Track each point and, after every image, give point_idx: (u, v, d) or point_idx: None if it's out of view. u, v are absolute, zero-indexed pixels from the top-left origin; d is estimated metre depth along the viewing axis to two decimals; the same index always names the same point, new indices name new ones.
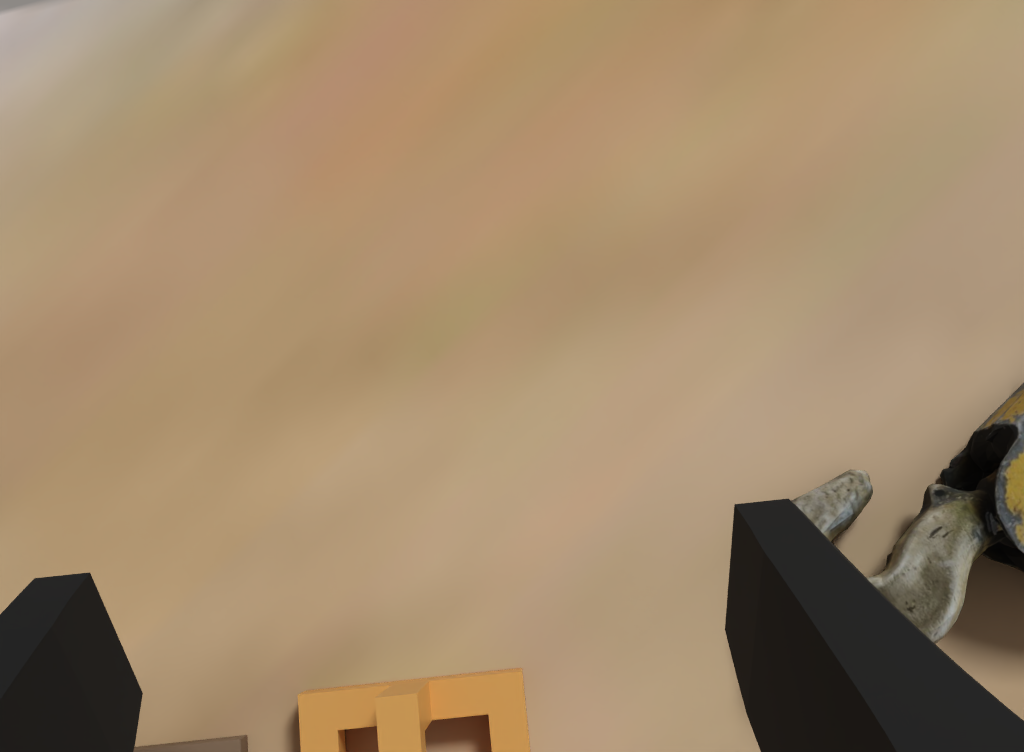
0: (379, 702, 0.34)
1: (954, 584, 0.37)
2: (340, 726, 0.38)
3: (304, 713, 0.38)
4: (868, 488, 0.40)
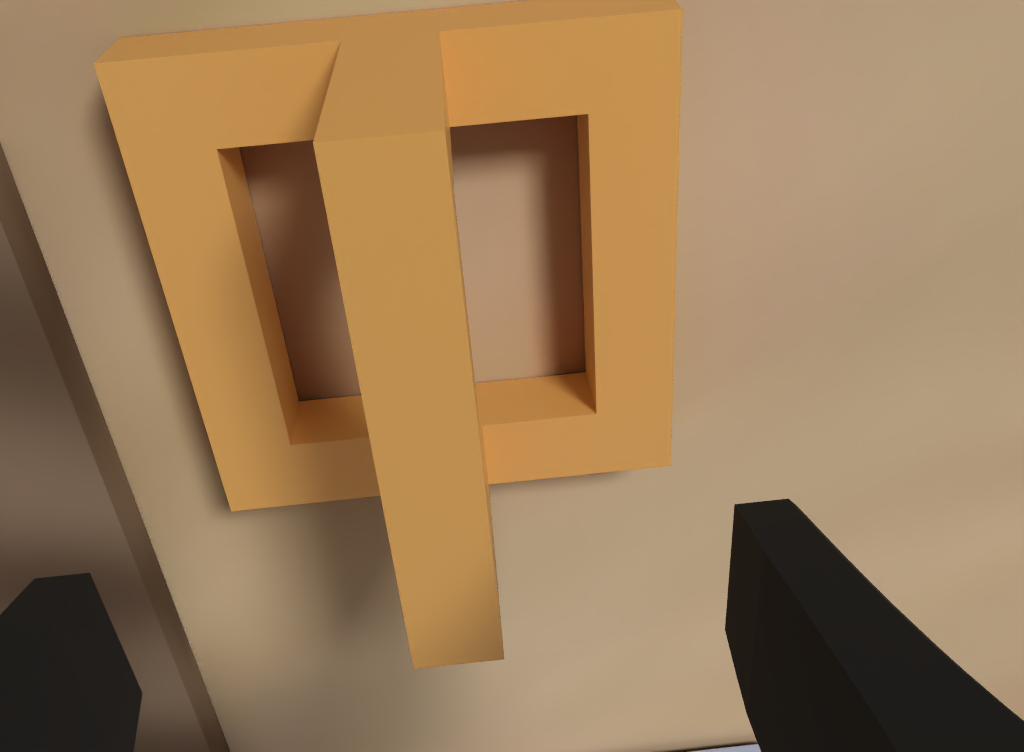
0: (328, 156, 0.11)
1: None
2: (222, 141, 0.15)
3: (122, 109, 0.15)
4: None
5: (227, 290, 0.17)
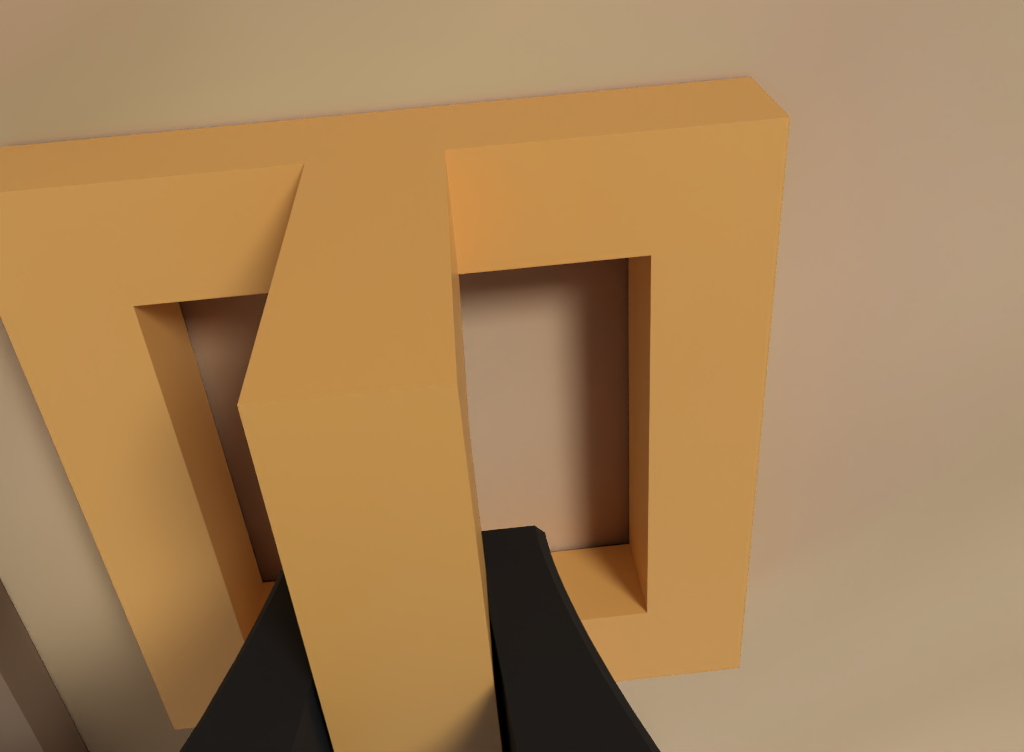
0: (264, 426, 0.07)
1: None
2: (140, 296, 0.11)
3: None
4: None
5: (157, 480, 0.12)
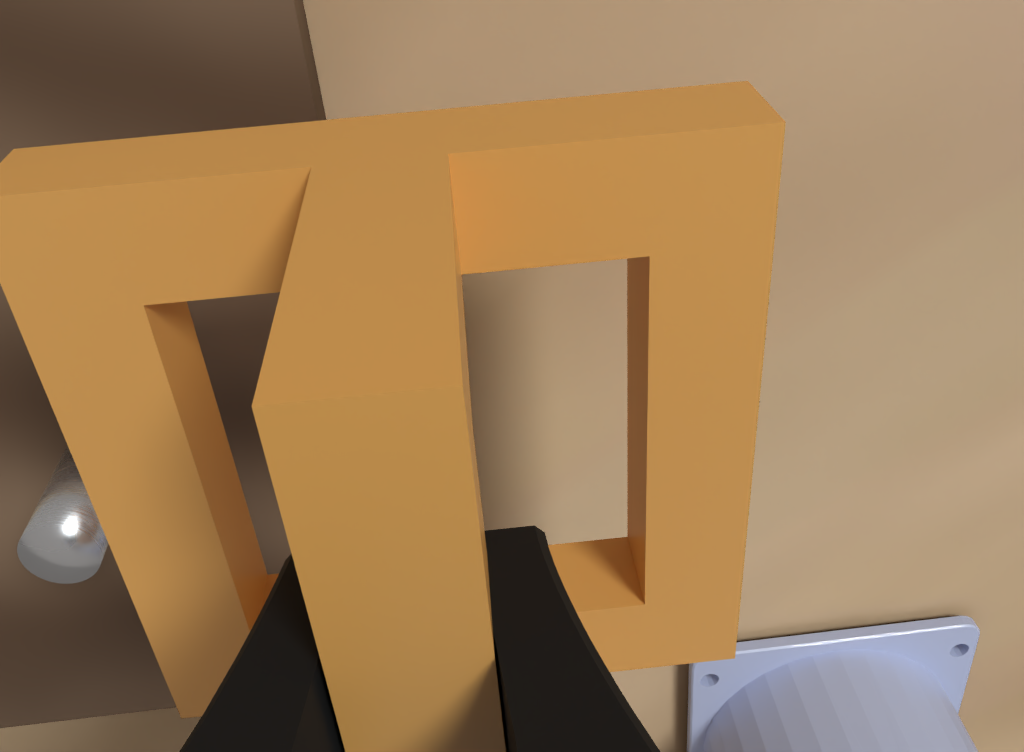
0: (277, 426, 0.07)
1: None
2: (150, 296, 0.11)
3: (10, 257, 0.11)
4: None
5: (166, 475, 0.13)
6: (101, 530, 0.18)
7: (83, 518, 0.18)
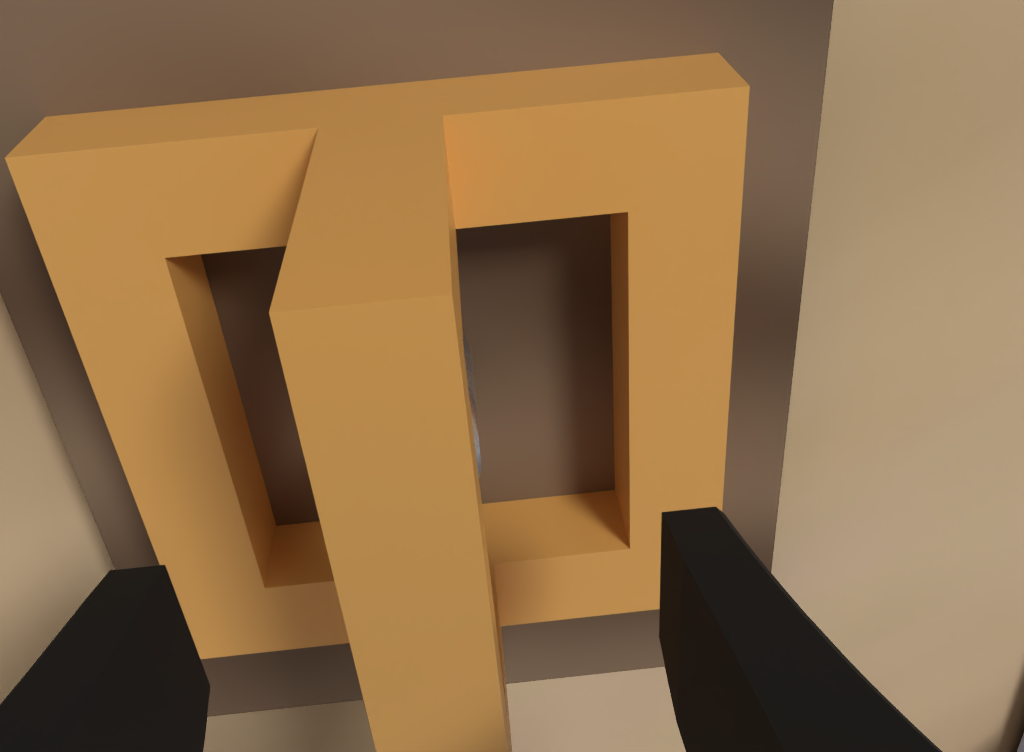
0: (291, 330, 0.08)
1: None
2: (171, 248, 0.12)
3: (44, 212, 0.12)
4: None
5: (183, 420, 0.14)
6: (477, 436, 0.13)
7: None
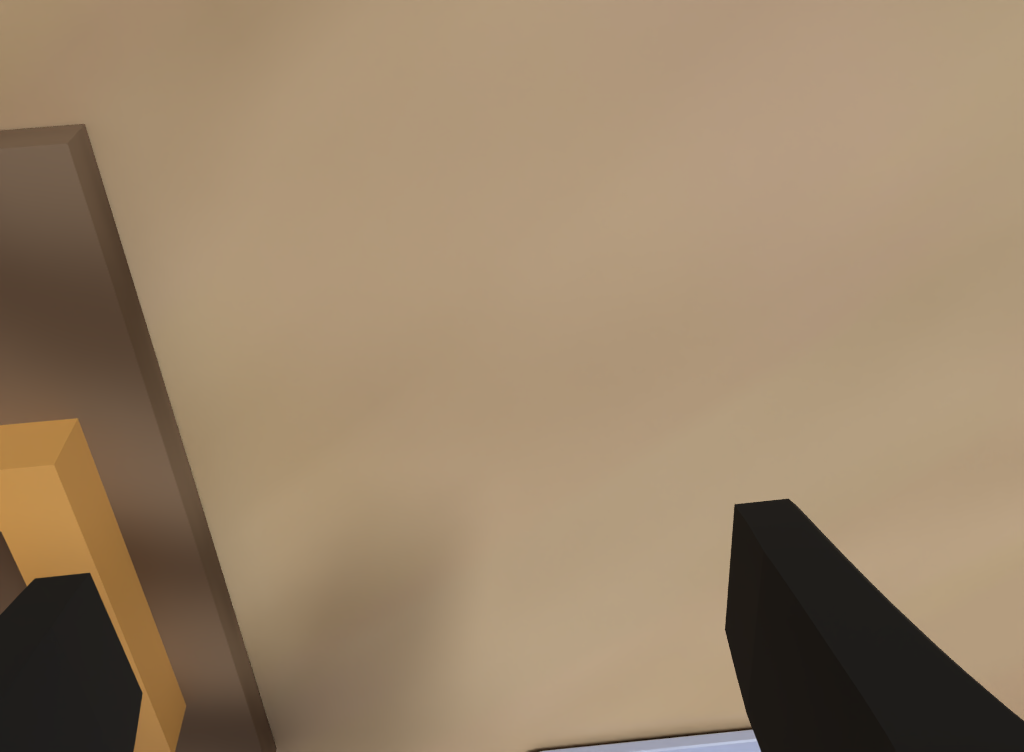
0: None
1: None
2: None
3: None
4: None
5: None
6: None
7: None
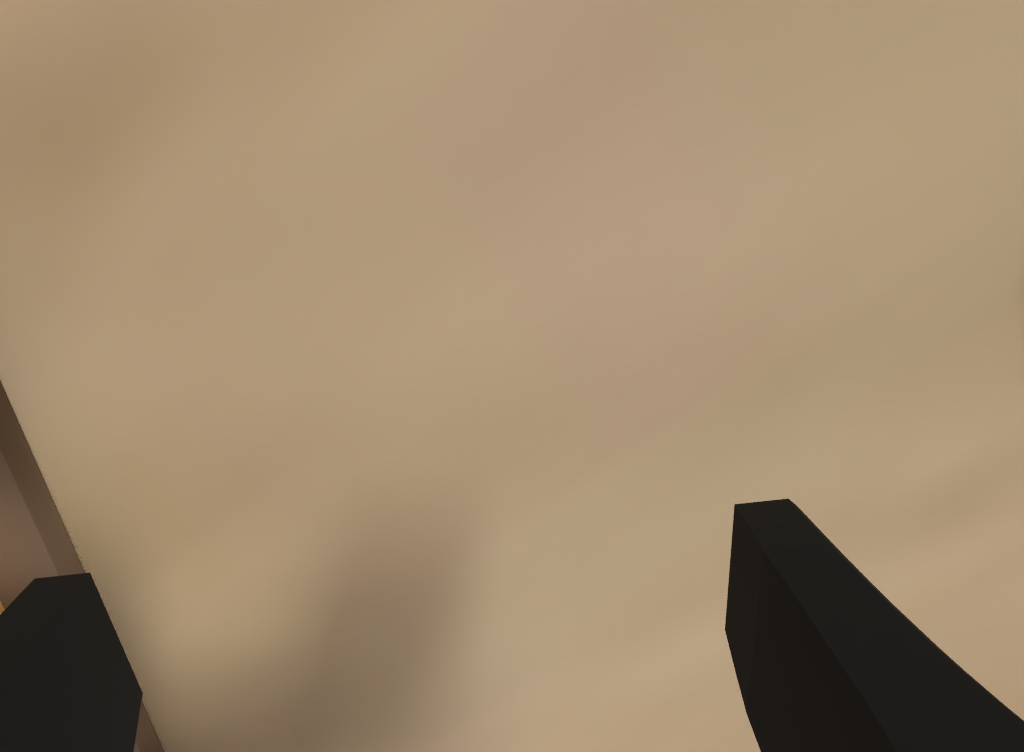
0: None
1: None
2: None
3: None
4: None
5: None
6: None
7: None
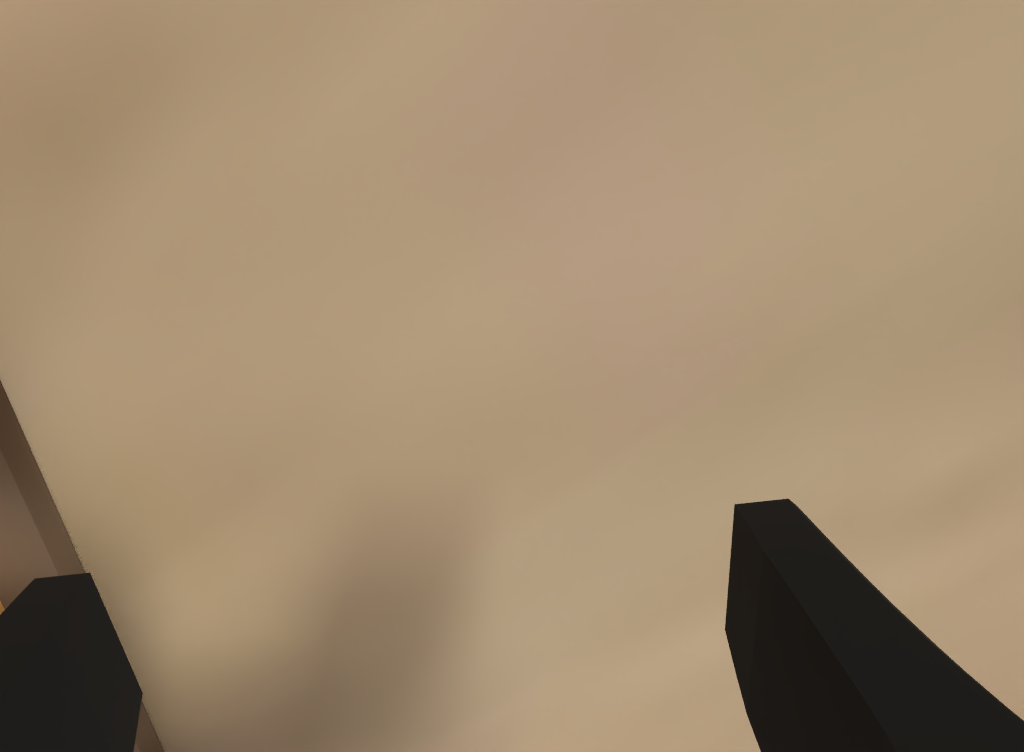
0: None
1: None
2: None
3: None
4: None
5: None
6: None
7: None
